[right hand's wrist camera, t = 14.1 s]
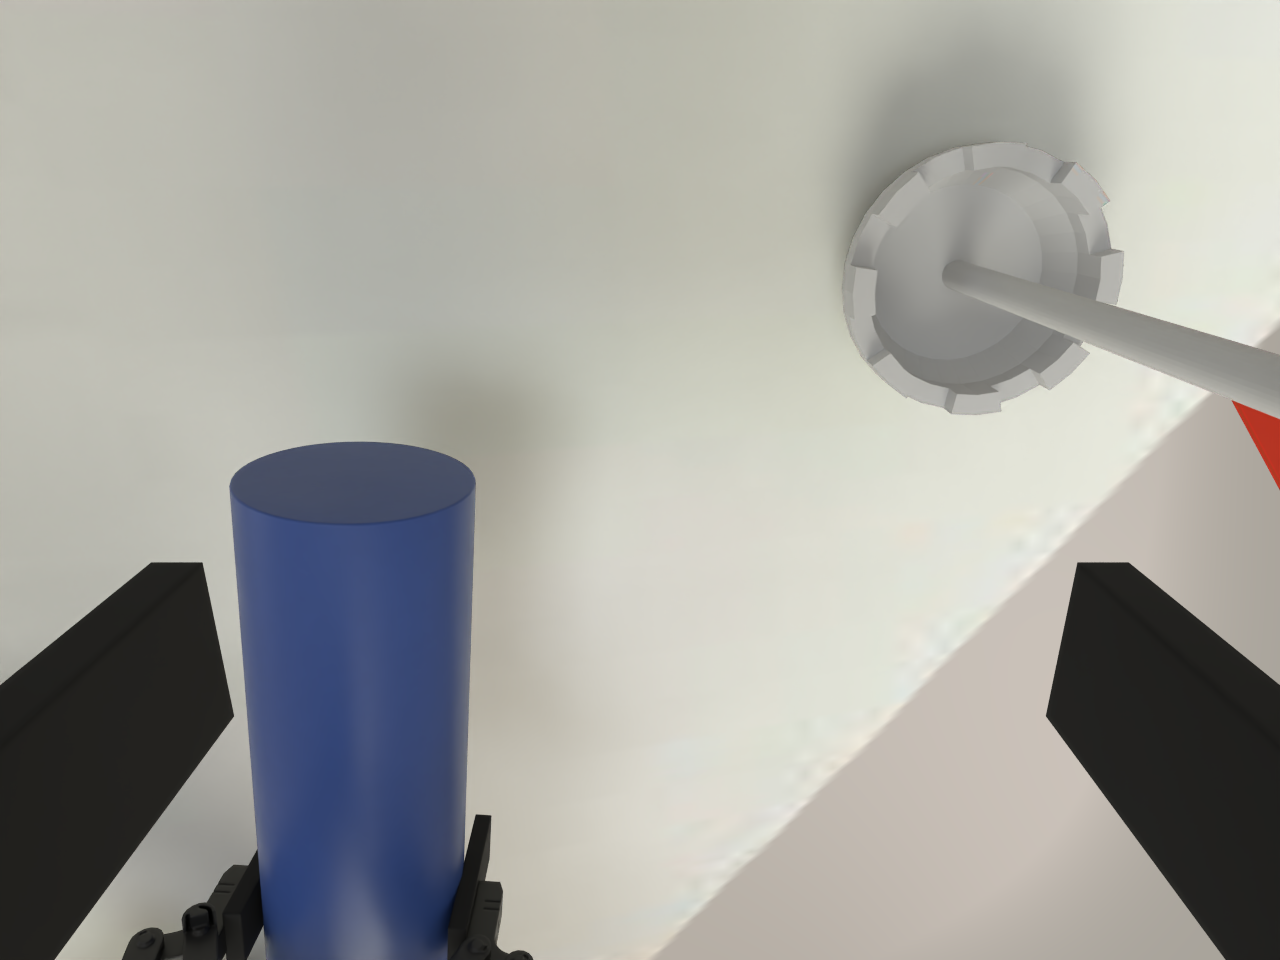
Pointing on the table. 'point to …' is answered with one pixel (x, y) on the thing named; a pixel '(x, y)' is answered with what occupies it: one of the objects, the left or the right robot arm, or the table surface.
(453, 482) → the rod
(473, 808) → the table surface
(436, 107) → the table surface
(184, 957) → the left robot arm
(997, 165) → the flag stand
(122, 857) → the right robot arm
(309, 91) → the table surface
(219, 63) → the table surface
